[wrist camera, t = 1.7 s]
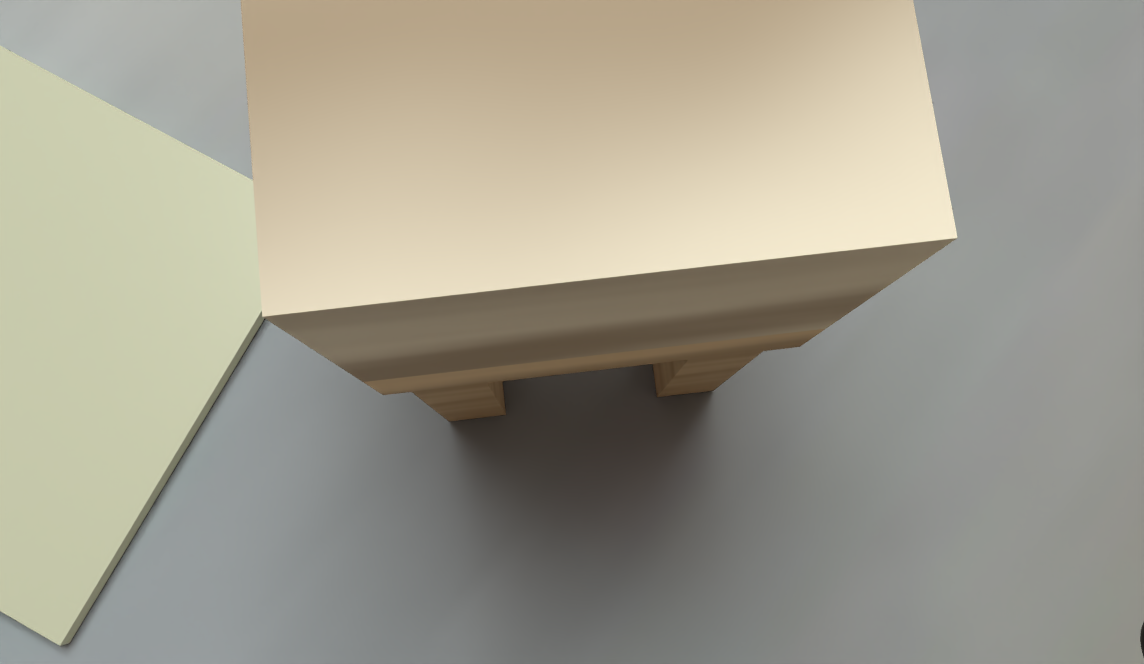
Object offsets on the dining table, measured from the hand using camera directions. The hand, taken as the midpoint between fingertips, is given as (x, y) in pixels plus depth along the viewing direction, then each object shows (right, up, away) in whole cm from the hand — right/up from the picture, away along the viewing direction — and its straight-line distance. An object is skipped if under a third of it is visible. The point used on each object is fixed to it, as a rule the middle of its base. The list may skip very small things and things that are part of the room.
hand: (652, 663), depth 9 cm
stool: (-1, +4, +13) cm, 14 cm away
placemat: (-13, +3, +13) cm, 19 cm away
